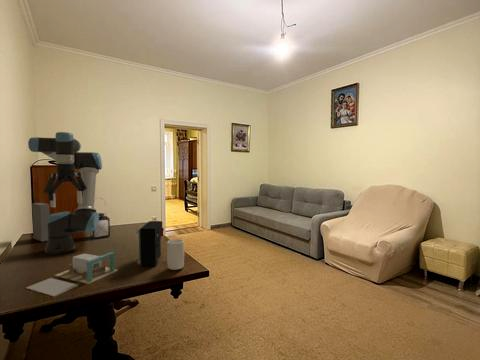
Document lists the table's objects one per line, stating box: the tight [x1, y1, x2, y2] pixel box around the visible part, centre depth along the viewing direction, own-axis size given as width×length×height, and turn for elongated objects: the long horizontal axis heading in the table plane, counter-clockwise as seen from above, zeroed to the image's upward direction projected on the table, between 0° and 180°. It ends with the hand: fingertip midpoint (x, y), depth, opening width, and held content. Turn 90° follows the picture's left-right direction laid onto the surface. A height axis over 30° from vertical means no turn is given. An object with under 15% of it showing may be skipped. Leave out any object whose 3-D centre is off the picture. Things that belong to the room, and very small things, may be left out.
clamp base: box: [54, 263, 119, 285], centre depth 125 cm, size 22×16×4 cm
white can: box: [166, 238, 185, 271], centre depth 130 cm, size 8×8×14 cm
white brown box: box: [72, 253, 103, 273], centre depth 125 cm, size 13×6×7 cm, turn 68°
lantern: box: [89, 197, 111, 240], centre depth 190 cm, size 11×11×28 cm
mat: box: [25, 277, 79, 298], centre depth 110 cm, size 18×10×1 cm, turn 68°
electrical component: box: [136, 220, 165, 268], centre depth 141 cm, size 18×10×20 cm, turn 5°
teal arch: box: [87, 251, 116, 281], centre depth 121 cm, size 2×13×9 cm, turn 158°
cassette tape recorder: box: [31, 202, 51, 243], centre depth 180 cm, size 14×6×25 cm, turn 58°
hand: (67, 205), depth 132 cm, fingers open, 13 cm apart
